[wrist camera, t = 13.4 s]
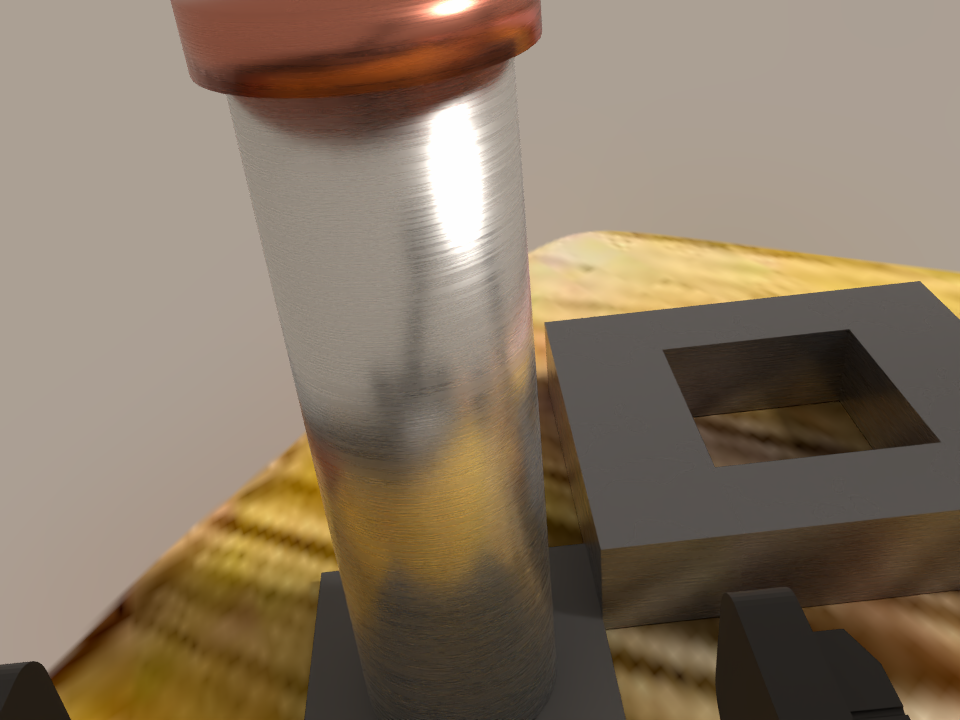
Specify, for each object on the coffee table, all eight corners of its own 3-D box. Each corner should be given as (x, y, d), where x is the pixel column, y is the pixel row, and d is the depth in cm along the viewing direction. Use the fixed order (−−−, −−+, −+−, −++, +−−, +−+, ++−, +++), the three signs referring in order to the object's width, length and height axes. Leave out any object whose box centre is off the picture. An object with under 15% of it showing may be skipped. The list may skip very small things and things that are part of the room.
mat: (585, 553, 28) (585, 543, 28) (641, 797, 21) (641, 787, 21) (323, 582, 28) (321, 572, 28) (295, 836, 21) (292, 826, 21)
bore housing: (907, 349, 36) (919, 281, 34) (1105, 573, 25) (1136, 490, 24) (548, 389, 36) (544, 322, 34) (603, 629, 25) (600, 549, 24)
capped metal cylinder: (559, 573, 27) (518, -72, 18) (594, 756, 22) (562, -17, 13) (354, 596, 27) (208, -38, 18) (341, 786, 22) (127, 30, 13)
